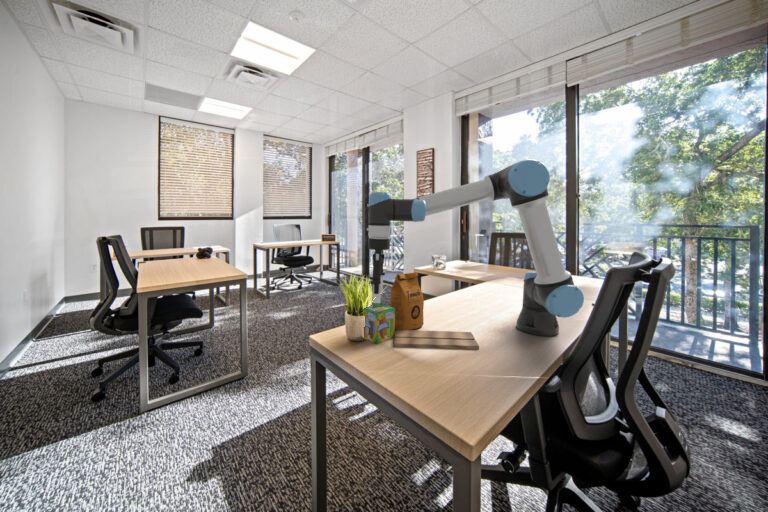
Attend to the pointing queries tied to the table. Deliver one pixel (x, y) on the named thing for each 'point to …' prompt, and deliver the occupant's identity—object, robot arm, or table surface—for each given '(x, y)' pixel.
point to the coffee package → (407, 302)
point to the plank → (434, 334)
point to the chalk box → (379, 323)
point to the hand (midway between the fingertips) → (377, 297)
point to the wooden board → (436, 343)
